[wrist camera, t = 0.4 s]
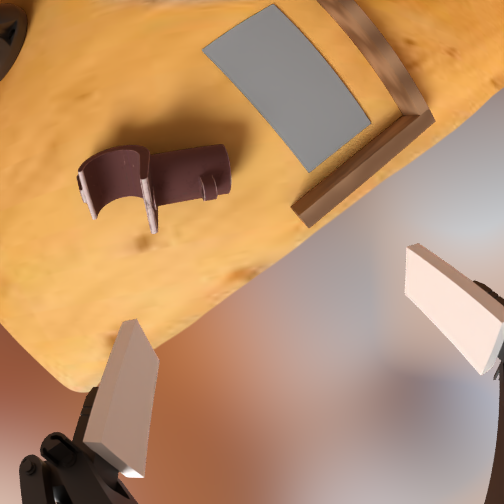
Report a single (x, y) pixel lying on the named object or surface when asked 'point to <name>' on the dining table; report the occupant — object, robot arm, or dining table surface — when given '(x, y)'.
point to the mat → (289, 85)
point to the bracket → (154, 177)
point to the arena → (390, 140)
